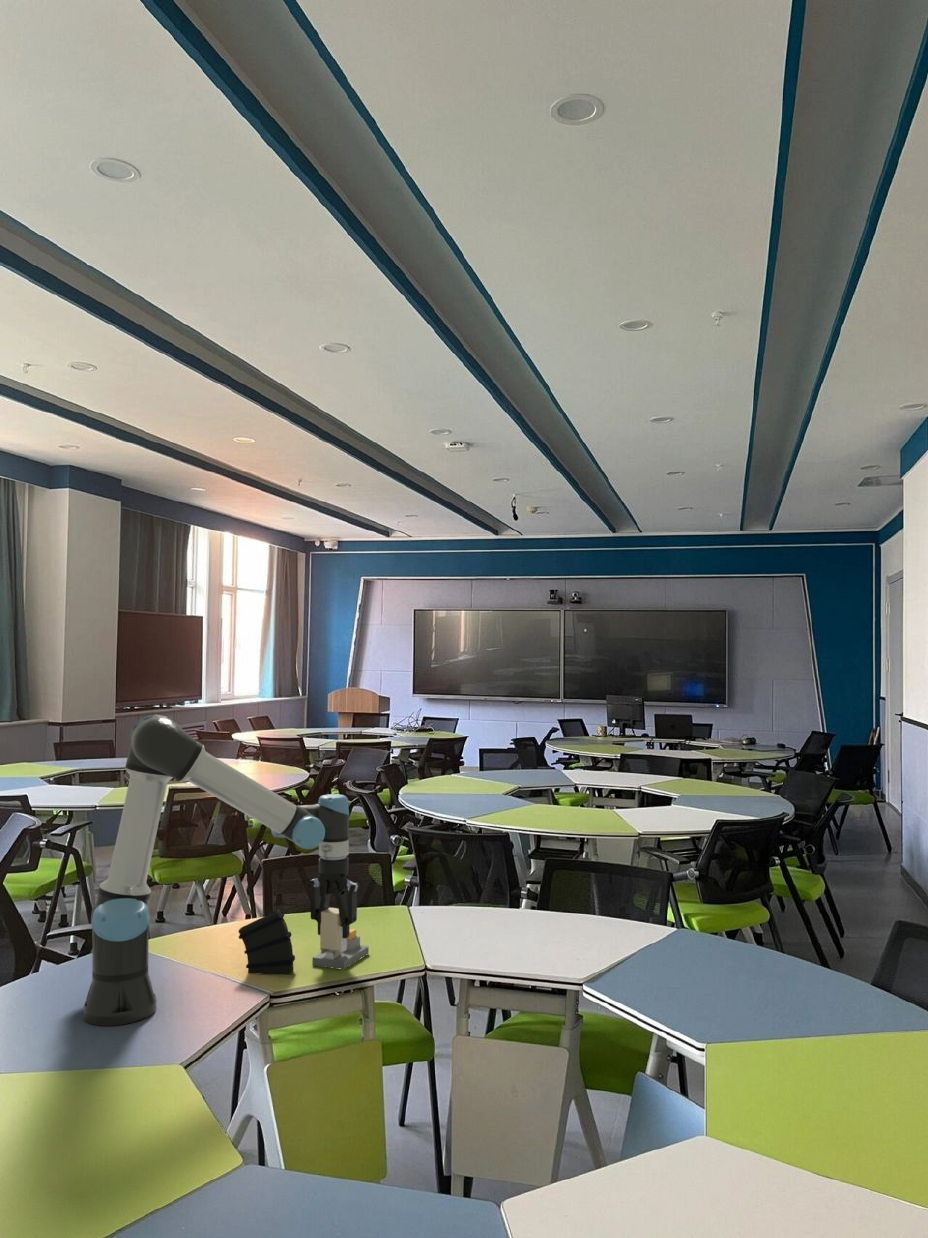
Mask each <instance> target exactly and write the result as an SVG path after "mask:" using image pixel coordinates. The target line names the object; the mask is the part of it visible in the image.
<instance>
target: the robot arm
mask: <svg viewBox="0 0 928 1238" xmlns="http://www.w3.org/2000/svg"><path fill="white" fill-rule="evenodd" d="M124 770H125V771H126V772H127V773H128V775H129V780H128V786H127V789H126V794H125V799H124V804H123V808H122V813H121V817H120V821H119V822H120V823H119V826H118V830H117V835H116V841H115V845H114V850H113V854H112V859H111V862H110V863H111V864H110V869H109V873H108V877H107V879H105V880H103V882H101V883H100V884H99V886H98V893H97V896H96V901H95V903H94V907H93V908H92V910H91V915H90V925H91V931H92V932H91V933H92V935H91V936H92V954H91V955H92V959H91V960H92V964H91V965H92V969H91V970H92V973H91V974H92V977H91V982H90V986H89V989H88V992H87V996H86V1000H85V1002H84V1003H83V1007H82V1008H83V1009H82V1011H83V1013H82V1016H83V1020H84V1021H85V1022H86V1023H89V1024H92V1025H96V1026H107V1027H108V1026H109V1027H110V1026H118V1025H119V1026H120V1025H126V1024H130V1023H131V1024H132V1023H135V1022H139V1021H141V1020H144V1019H146V1018H148V1017H150V1016H152V1015H153V1014H154V1013H155V1012H156V1010H157V996H156V993H154V990H153V986H152V981H151V979H150V975H149V941H150V940H149V937H150V935H149V933H150V932H149V931H150V930H149V929H150V928H149V927H150V926H149V924H150V919H151V917H150V913H149V902H150V897H151V893H152V889H151V888H150V887H149V885H148V883H147V880H148V876H149V871H150V866H151V861H152V856H153V853H154V847H155V842H156V837H157V834H158V833H157V832H158V828H159V823H160V819H161V814H162V810H163V804H164V801H165V796H166V795H165V794H166V791H167V786H168V785H167V784H168V783H169V782H170V781H171V780H172V779H175V780H176V781H178V782H180V783H183V782H189V783H191V784H193V785H194V786H196V787H198V788H199V789H201V790H203V791H205V792H206V793H208V794H210V795H212V796H213V797H215V798H217V799H219V800H220V801H222V802H224V803H226V804H227V805H229V806H230V807H232V808H234V809H235V810H238V811H239V812H241V813H243V814H245V815H246V816H248V817H250V818H251V819H253V820H255V821H257V822H259V823H260V824H262V825H264V826H265V827H267V828H269V829H270V831H271V834H272V835H271V836H273V837H274V838H282V839H285V838H286V839H288V841H291V842H293V843H294V844H295V845H296V846H297V847H299V848H300V849H304V850H312V849H316V848H318V856H319V858H318V873H319V874H318V877H317V878H316V877H315V878H313V879H310V880H308V883H307V884H308V886H309V888H310V889H309V891H310V919H311V920H312V921H313V920H314V921H316V922H317V935H318V936H319V937H320V944H319V946H320V947H319V949H320V951H321V912H322V911H324V910H326V909H328V908H329V907H330V906H329V905H330V902H331V896H332V895H334V898H335V900H336V903H337V908H338V909H339V914H340V919H341V925H340V926H339V952H343V951H345V950H346V949H347V938H348V937H349V928H350V925H352V924H354V923H355V922H357V919H358V916H357V915H358V914H357V913H358V912H357V911H358V901H357V900H358V891H359V887H360V884H359V882H353V881H351V879H350V877H349V865H350V864H349V863H350V862H349V859H350V857H348V856H349V855H350V854H349V853H350V850H349V848H350V847H349V844H350V843H349V841H350V840H349V822H350V811H349V810H350V809H349V799H348V797H347V796H346V795H344V794H338V793H336V794H335V793H332V794H331V793H330V794H329V793H328V794H323V795H320V797H319V798H318V802H317V803H314V804H303V805H302V804H300V805H296V804H295V803H293V802H291V801H289V800H288V799H286V798H284V797H283V796H281V795H279V794H277V793H276V792H274V791H272V790H271V789H269V788H268V787H266V786H264V785H263V784H261V783H259V782H257V781H256V780H254V779H253V778H250V777H249V776H247V775H246V774H244V773H243V772H241V771H239V770H238V769H235V768H233V766H231V765H230V764H227V763H225V762H224V761H222V760H220V759H218V758H217V757H216V756H213V754H210V752H209V753H208V751H206V749H205V745H204V744H202V743H201V742H199V741H197V740H196V739H194V738H193V737H192V736H191V735H189V734H188V733H187V732H186V731H185V730H184V729H183V728H182V727H181V726H180V725H179V724H178V723H177V722H176V720H174V719H173V718H171V717H170V716H166V715H163V714H152V715H148V716H145V717H144V718H142V719H140V720H139V721H138V722H137V723H136V724H135V725H134V726H133V728H132V729H131V732H130V735H129V748H128V754H127V758H126V763H125V769H124ZM320 887H321V888H322V889H321V894H320ZM346 888H347V891H348V893H347V891H346ZM320 896H321V897H320ZM346 897H347V898H346ZM320 898H321V899H320Z"/></svg>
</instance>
